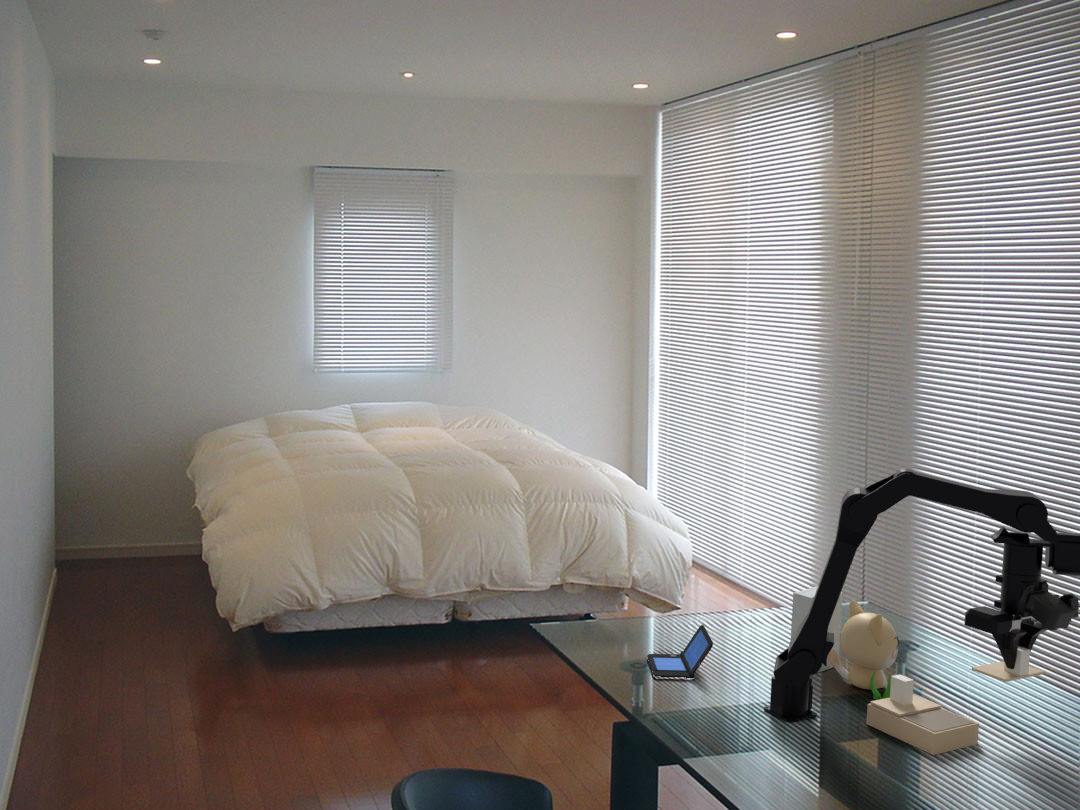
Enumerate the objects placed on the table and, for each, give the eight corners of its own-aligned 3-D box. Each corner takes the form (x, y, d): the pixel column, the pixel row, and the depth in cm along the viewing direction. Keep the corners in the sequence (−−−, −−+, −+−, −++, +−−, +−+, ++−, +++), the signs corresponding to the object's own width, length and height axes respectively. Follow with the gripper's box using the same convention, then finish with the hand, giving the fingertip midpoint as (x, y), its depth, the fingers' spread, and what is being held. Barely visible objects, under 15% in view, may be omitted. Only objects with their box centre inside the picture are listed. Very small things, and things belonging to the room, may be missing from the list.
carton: (933, 755, 173) (934, 733, 172) (866, 723, 185) (867, 703, 185) (977, 744, 178) (979, 722, 177) (909, 714, 190) (910, 694, 190)
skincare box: (814, 659, 219) (818, 584, 217) (840, 667, 214) (844, 591, 213) (787, 667, 213) (791, 590, 212) (813, 675, 209) (817, 597, 207)
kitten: (915, 701, 197) (920, 617, 195) (863, 704, 195) (867, 619, 193) (872, 673, 211) (876, 595, 210) (823, 675, 209) (827, 596, 208)
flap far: (899, 716, 179) (901, 690, 179) (870, 703, 185) (871, 677, 184) (941, 707, 184) (942, 681, 183) (910, 695, 189) (912, 670, 189)
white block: (1005, 682, 175) (1006, 654, 175) (971, 670, 181) (973, 643, 180) (1044, 673, 179) (1046, 647, 179) (1010, 662, 185) (1012, 636, 185)
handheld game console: (645, 659, 216) (647, 621, 216) (701, 660, 217) (703, 623, 216) (653, 681, 204) (654, 641, 203) (712, 682, 204) (714, 642, 203)
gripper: (1026, 589, 166) (1019, 692, 167) (1105, 577, 175) (1098, 674, 176) (965, 572, 176) (959, 669, 177) (1043, 562, 185) (1036, 654, 186)
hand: (1015, 667), depth 179 cm, fingers closed on white block, 2 cm apart
